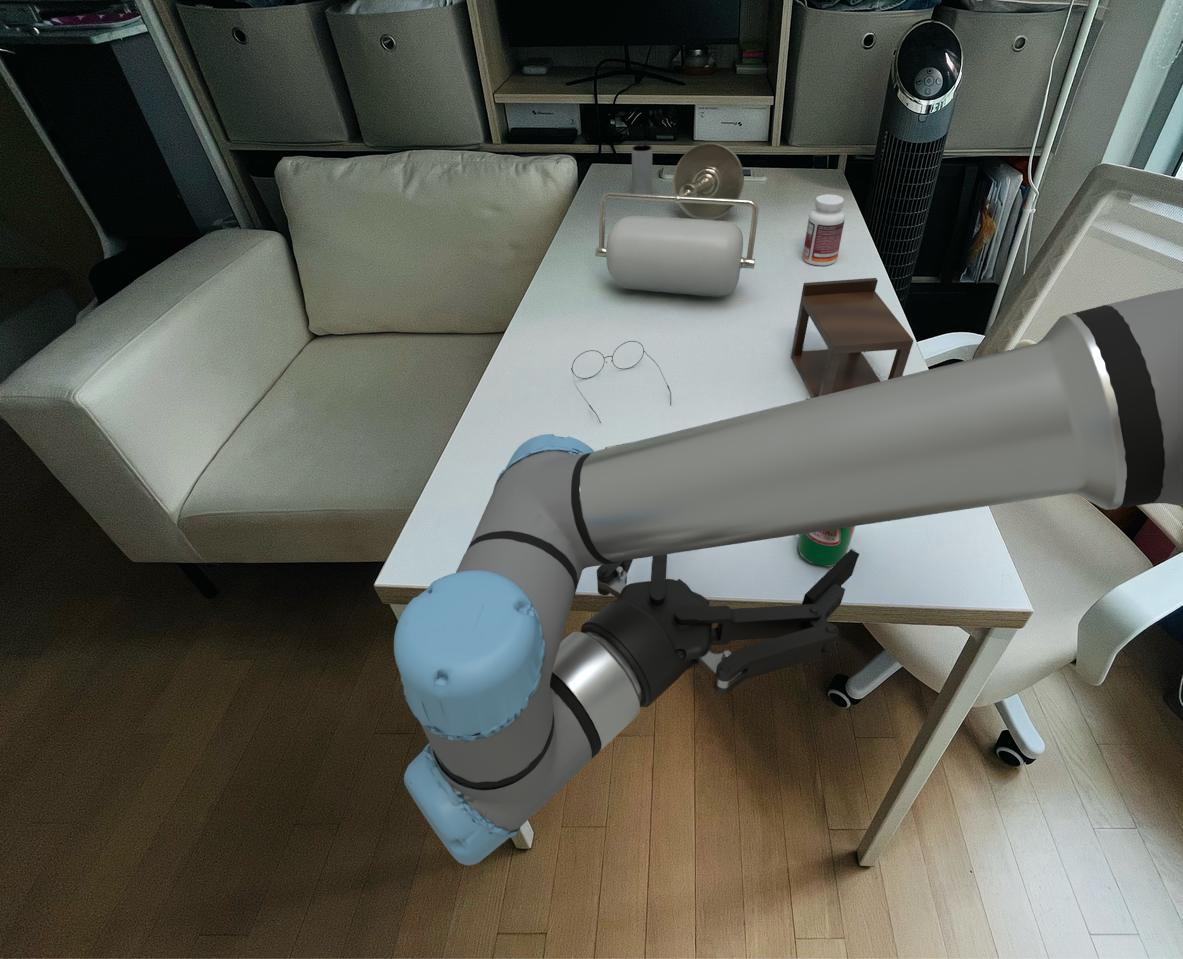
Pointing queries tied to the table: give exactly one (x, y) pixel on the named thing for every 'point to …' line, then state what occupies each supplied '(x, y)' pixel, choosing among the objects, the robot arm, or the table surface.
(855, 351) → the rack
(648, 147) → the grey cylinder
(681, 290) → the lamp
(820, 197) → the pill bottle
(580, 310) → the table surface
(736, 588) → the table surface
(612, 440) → the table surface
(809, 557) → the soda can
